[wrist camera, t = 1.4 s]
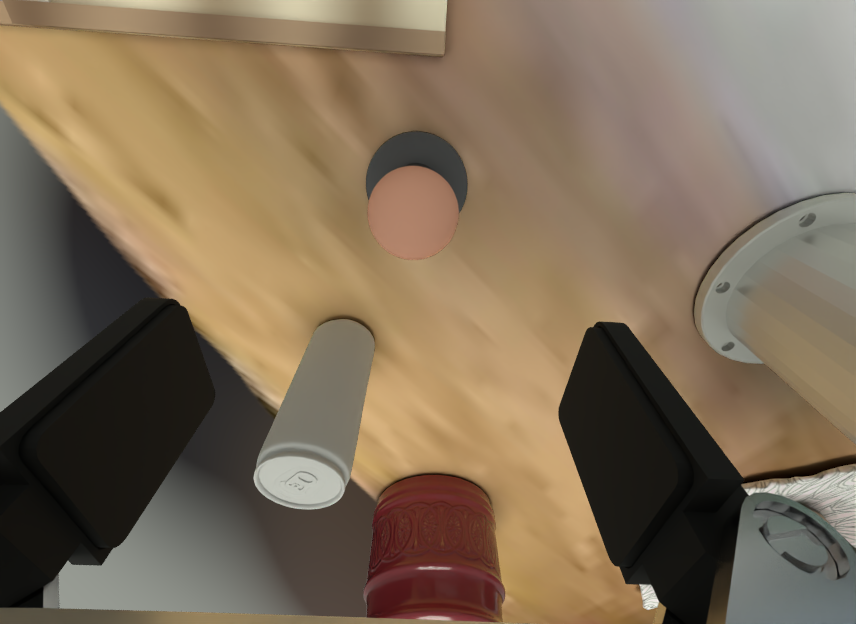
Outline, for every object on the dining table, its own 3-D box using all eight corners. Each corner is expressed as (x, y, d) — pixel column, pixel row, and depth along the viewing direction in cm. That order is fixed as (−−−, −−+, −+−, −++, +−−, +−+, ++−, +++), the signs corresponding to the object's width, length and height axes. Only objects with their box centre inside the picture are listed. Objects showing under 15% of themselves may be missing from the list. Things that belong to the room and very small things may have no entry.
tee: (473, 134, 21) (478, 143, 19) (461, 236, 24) (464, 255, 22) (365, 127, 21) (356, 135, 18) (368, 230, 24) (360, 249, 22)
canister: (449, 455, 37) (461, 717, 22) (514, 514, 42) (558, 755, 27) (350, 498, 41) (303, 743, 26) (421, 547, 46) (416, 771, 32)
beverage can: (301, 341, 29) (232, 485, 19) (338, 302, 27) (283, 440, 17) (351, 373, 31) (312, 521, 21) (389, 339, 29) (366, 484, 19)
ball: (460, 160, 19) (467, 182, 15) (452, 241, 21) (456, 278, 18) (373, 154, 19) (358, 175, 15) (374, 237, 21) (362, 272, 18)
